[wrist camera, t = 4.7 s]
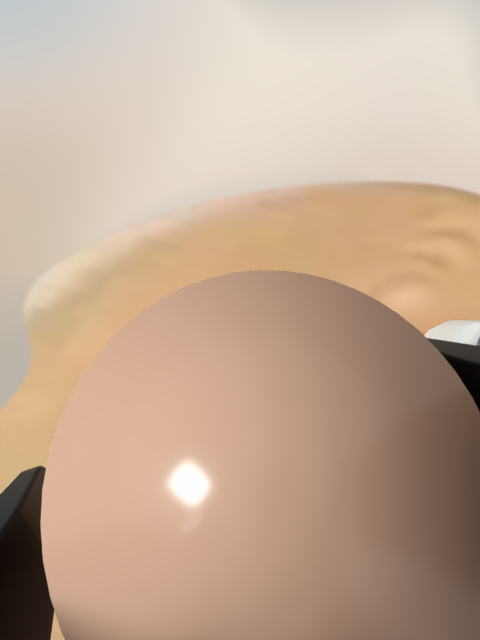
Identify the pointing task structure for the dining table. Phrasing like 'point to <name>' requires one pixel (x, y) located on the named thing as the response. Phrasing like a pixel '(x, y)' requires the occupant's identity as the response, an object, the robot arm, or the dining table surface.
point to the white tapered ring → (457, 332)
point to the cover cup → (265, 474)
